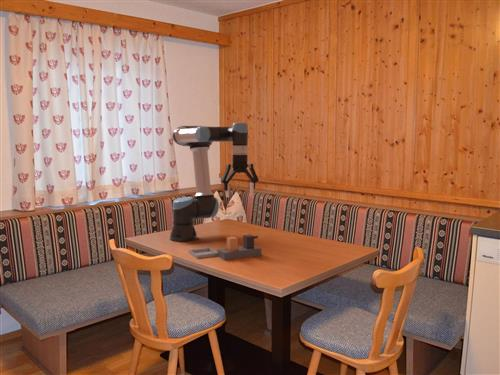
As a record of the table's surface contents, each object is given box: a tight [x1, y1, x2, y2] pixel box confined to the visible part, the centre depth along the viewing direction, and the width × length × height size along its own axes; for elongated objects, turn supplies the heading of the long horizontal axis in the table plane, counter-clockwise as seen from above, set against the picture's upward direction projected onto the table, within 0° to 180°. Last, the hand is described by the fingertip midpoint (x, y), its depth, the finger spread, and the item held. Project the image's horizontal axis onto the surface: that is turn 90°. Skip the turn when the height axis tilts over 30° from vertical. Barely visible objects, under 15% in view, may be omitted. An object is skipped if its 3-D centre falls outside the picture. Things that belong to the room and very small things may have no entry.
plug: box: [226, 236, 239, 252], centre depth 225 cm, size 4×4×10 cm
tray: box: [188, 246, 218, 259], centre depth 229 cm, size 11×11×2 cm
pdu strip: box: [217, 234, 262, 261], centre depth 227 cm, size 8×20×10 cm, turn 118°
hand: (239, 196), depth 233 cm, fingers open, 13 cm apart
